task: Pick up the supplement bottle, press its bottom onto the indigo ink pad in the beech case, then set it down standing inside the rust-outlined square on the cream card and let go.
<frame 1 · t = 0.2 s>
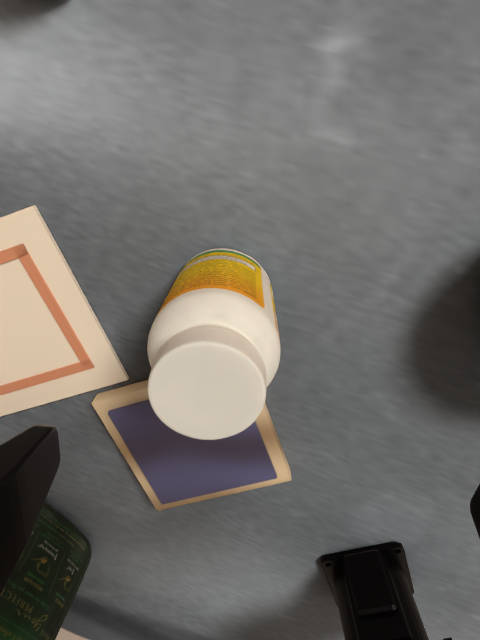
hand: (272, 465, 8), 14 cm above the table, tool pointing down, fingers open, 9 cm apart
supplement bottle: (223, 291, 22), on the table
coffee jar: (35, 528, 31), on the table
print card: (3, 326, 23), on the table
ink pad: (198, 433, 26), on the table
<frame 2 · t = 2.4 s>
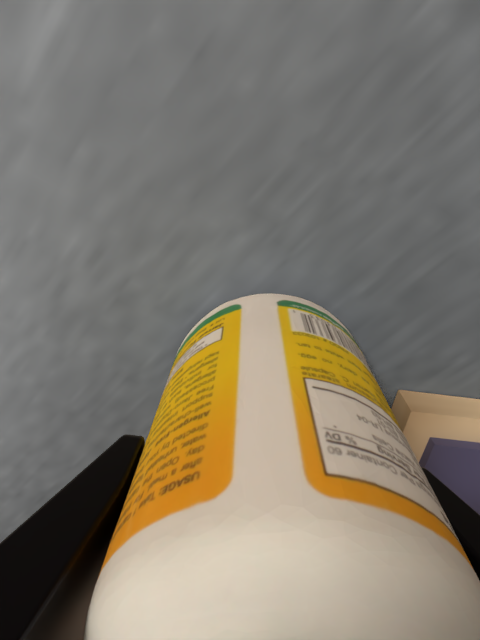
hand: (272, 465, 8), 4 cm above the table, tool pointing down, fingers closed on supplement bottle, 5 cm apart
supplement bottle: (264, 370, 11), on the table, touching gripper
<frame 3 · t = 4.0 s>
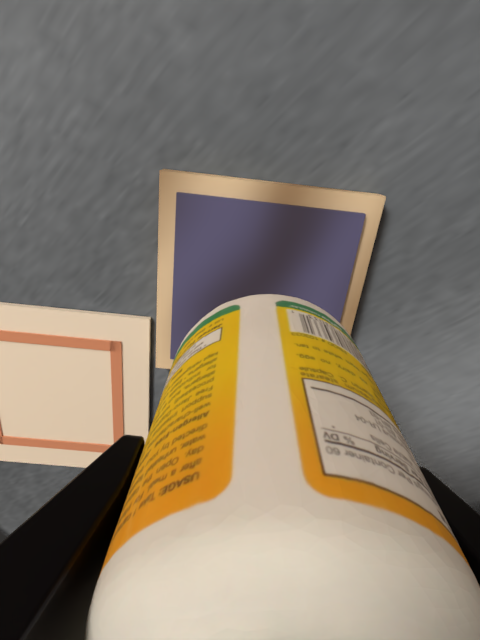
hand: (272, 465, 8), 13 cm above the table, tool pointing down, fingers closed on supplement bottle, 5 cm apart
supplement bottle: (263, 370, 11), point 9 cm above the table, touching gripper
print card: (56, 392, 23), on the table
ink pad: (258, 283, 20), on the table
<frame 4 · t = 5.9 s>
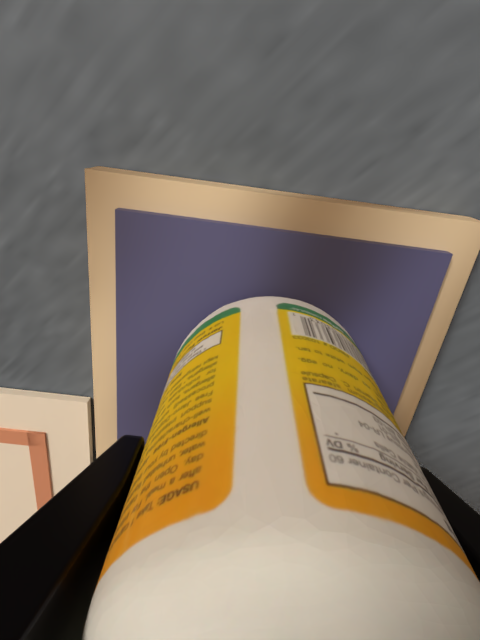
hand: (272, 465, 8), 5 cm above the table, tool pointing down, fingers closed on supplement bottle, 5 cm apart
supplement bottle: (264, 373, 11), point 1 cm above the table, touching gripper
ink pad: (259, 353, 12), on the table
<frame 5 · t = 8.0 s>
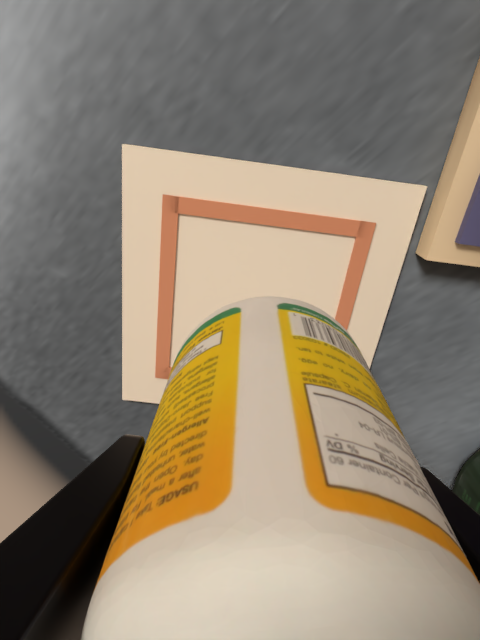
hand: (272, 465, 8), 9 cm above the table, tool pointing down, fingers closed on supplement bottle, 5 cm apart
supplement bottle: (264, 373, 11), point 5 cm above the table, touching gripper
print card: (255, 304, 16), on the table
when the fingers open (5 cm above the table, at t = 9.5 s): supplement bottle drops 1 cm, resting on print card.
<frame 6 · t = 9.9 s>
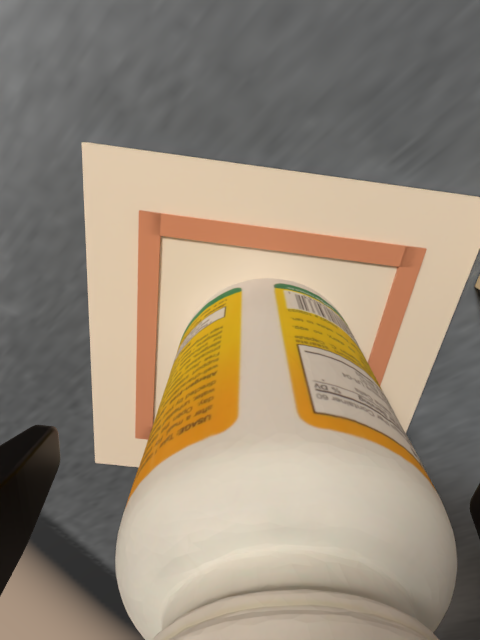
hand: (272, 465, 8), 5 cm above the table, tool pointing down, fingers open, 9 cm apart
supplement bottle: (263, 350, 12), resting on print card
print card: (262, 349, 13), on the table
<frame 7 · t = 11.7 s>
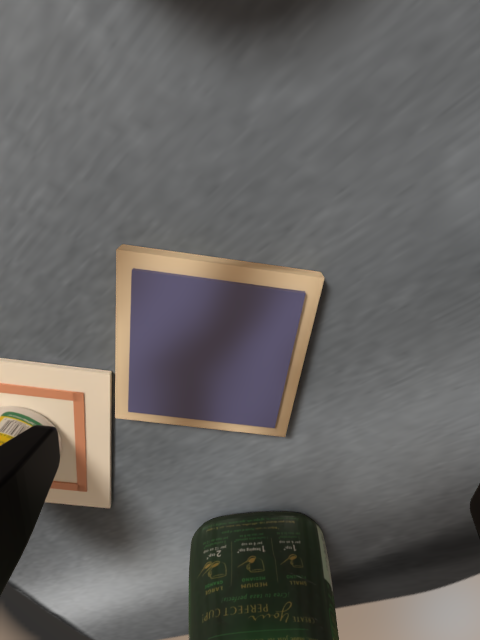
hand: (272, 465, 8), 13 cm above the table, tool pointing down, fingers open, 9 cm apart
supplement bottle: (21, 435, 24), resting on print card
coffee jar: (258, 539, 29), on the table
print card: (22, 434, 24), on the table
ink pad: (211, 345, 21), on the table
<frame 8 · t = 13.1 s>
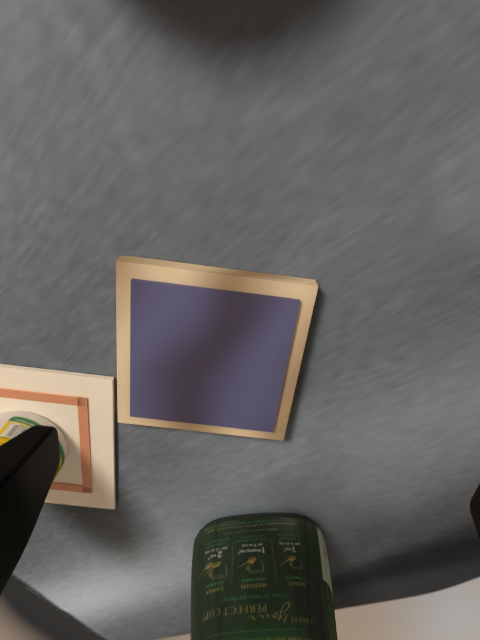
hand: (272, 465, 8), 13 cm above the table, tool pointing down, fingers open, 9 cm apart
supplement bottle: (28, 438, 25), resting on print card
coffee jar: (260, 540, 29), on the table
print card: (29, 438, 25), on the table
ink pad: (210, 351, 22), on the table
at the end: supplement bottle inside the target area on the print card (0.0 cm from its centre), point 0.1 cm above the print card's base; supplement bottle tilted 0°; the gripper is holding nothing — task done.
